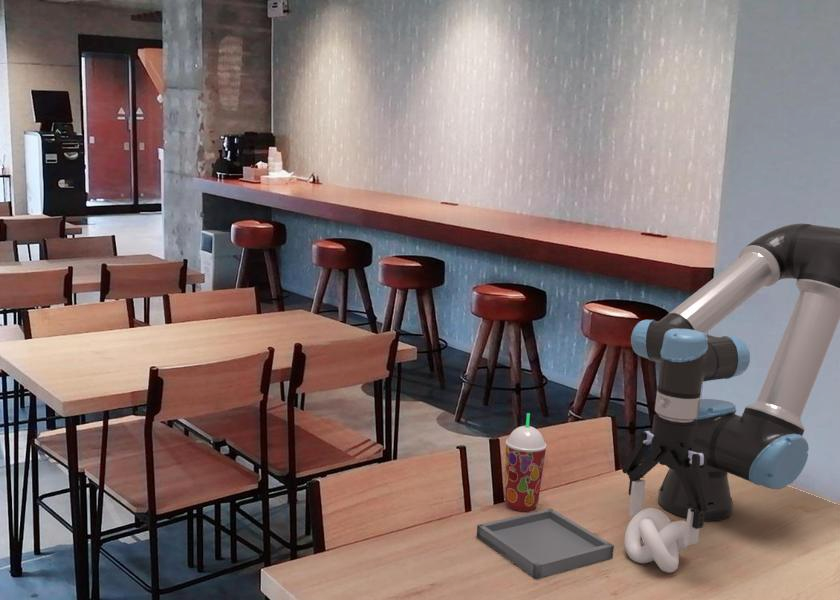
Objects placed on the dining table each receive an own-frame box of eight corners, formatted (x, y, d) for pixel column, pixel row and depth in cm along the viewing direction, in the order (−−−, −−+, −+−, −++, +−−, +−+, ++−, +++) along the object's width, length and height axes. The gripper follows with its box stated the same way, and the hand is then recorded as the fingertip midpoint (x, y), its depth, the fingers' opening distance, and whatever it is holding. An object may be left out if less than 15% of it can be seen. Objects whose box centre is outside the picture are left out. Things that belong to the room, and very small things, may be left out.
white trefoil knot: (669, 545, 173) (674, 501, 172) (705, 575, 162) (710, 528, 160) (616, 549, 170) (621, 505, 168) (648, 580, 159) (654, 533, 157)
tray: (549, 520, 181) (550, 508, 181) (612, 558, 166) (613, 545, 166) (476, 537, 172) (477, 525, 172) (536, 579, 157) (537, 566, 157)
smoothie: (538, 498, 192) (545, 408, 188) (544, 515, 184) (552, 421, 180) (498, 497, 192) (505, 406, 188) (503, 513, 183) (510, 419, 180)
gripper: (611, 398, 169) (599, 505, 173) (717, 440, 148) (701, 561, 152) (640, 395, 173) (627, 499, 177) (747, 435, 152) (731, 553, 156)
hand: (661, 528), depth 164 cm, fingers open, 13 cm apart
